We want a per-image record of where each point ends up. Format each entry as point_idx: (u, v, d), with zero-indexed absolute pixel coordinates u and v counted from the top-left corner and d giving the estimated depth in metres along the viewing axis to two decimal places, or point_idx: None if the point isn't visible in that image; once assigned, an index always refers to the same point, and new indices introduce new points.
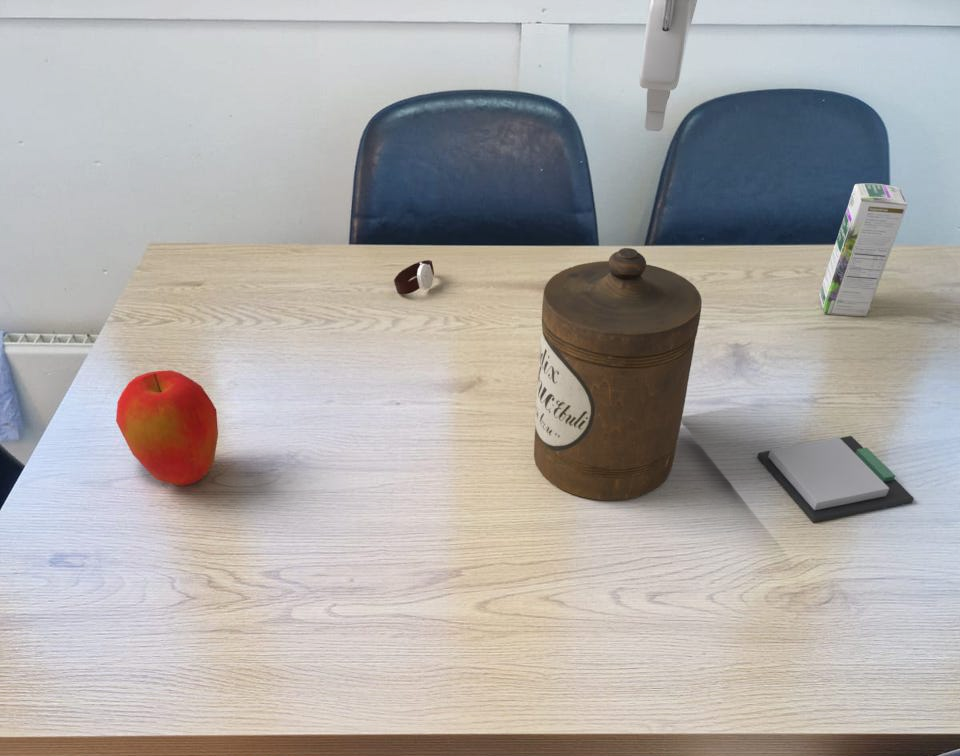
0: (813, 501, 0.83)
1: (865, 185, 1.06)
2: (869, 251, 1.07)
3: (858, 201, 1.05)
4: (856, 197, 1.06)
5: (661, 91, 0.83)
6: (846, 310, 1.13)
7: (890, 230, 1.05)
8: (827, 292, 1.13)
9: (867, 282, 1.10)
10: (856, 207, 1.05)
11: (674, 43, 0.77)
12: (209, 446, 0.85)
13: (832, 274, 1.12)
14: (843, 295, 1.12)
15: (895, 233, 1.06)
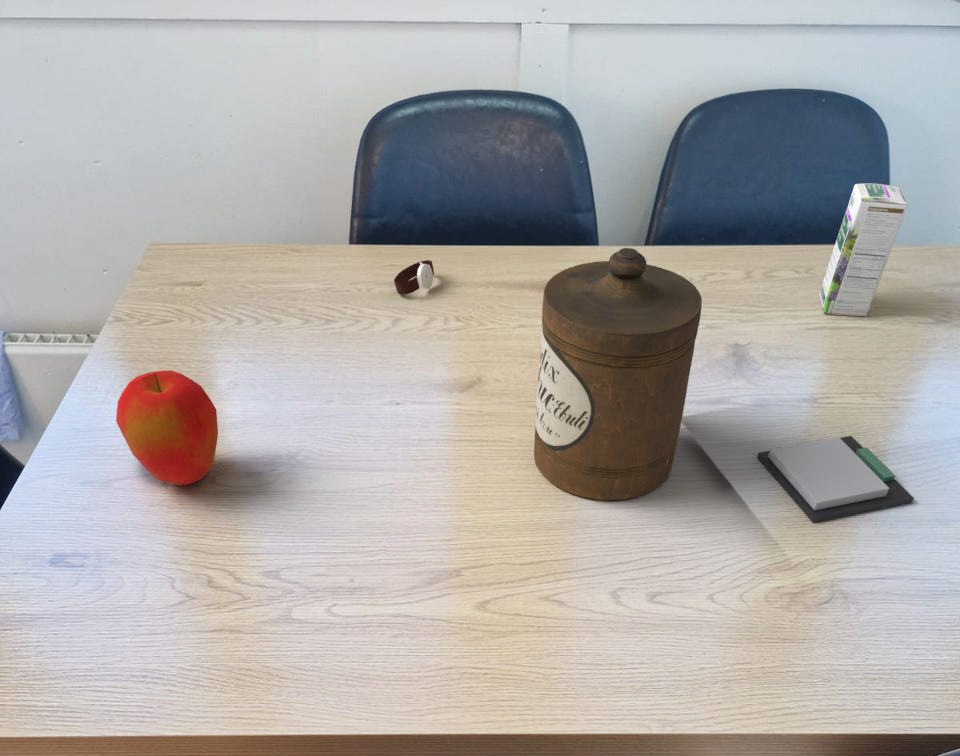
0: (813, 501, 0.83)
1: (865, 185, 1.06)
2: (869, 251, 1.07)
3: (858, 201, 1.05)
4: (856, 197, 1.06)
5: None
6: (846, 310, 1.13)
7: (890, 230, 1.05)
8: (827, 292, 1.13)
9: (867, 282, 1.10)
10: (856, 207, 1.05)
11: None
12: (209, 446, 0.85)
13: (832, 274, 1.12)
14: (843, 295, 1.12)
15: (895, 233, 1.06)
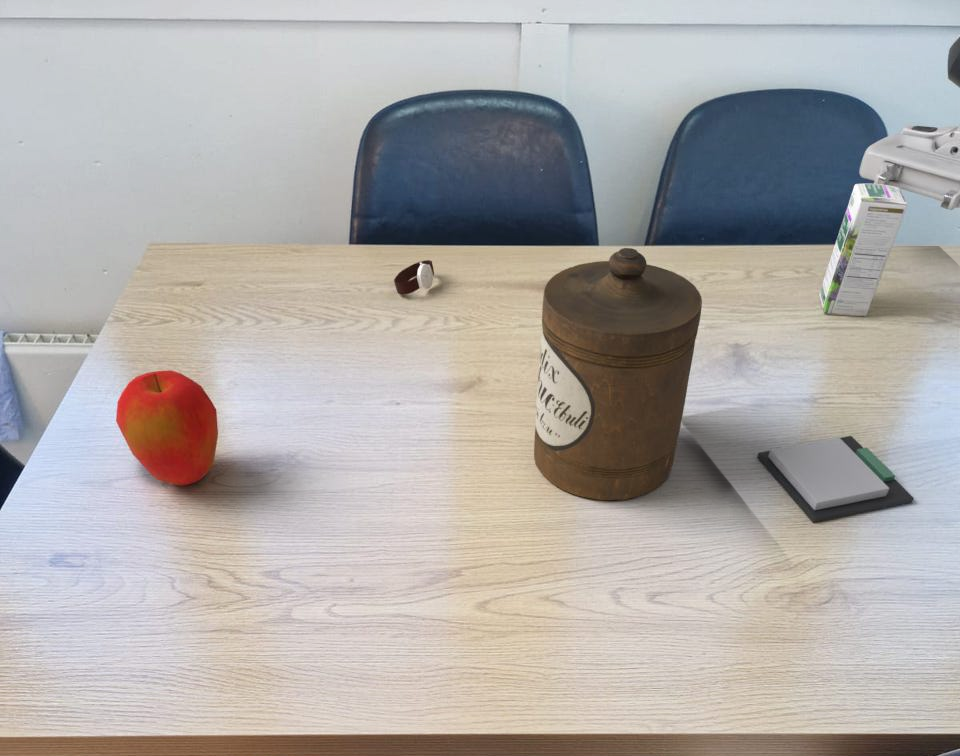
0: (813, 501, 0.83)
1: (865, 185, 1.06)
2: (869, 251, 1.07)
3: (858, 201, 1.05)
4: (856, 197, 1.06)
5: None
6: (846, 310, 1.13)
7: (890, 230, 1.05)
8: (827, 292, 1.13)
9: (867, 282, 1.10)
10: (856, 207, 1.05)
11: None
12: (209, 446, 0.85)
13: (832, 274, 1.12)
14: (843, 295, 1.12)
15: (895, 233, 1.06)
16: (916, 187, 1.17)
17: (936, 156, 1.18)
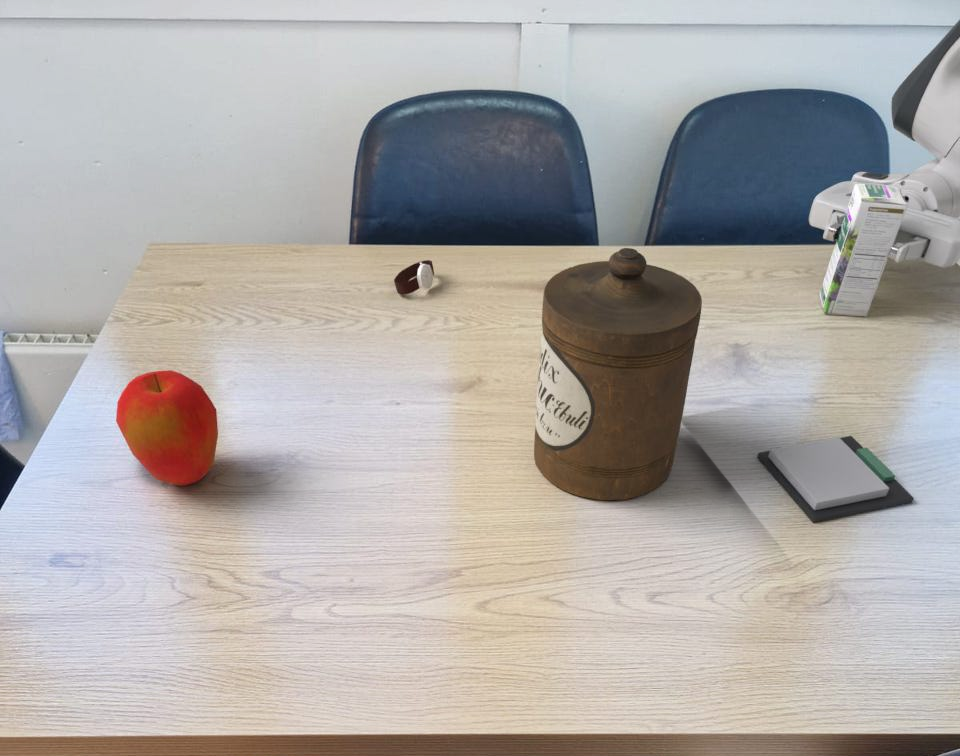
0: (813, 501, 0.83)
1: (865, 185, 1.06)
2: (869, 251, 1.07)
3: (858, 202, 1.05)
4: (856, 197, 1.06)
5: (920, 252, 1.08)
6: (846, 310, 1.13)
7: (890, 230, 1.05)
8: (827, 292, 1.13)
9: (867, 282, 1.10)
10: (856, 207, 1.05)
11: None
12: (209, 446, 0.85)
13: (832, 274, 1.12)
14: (843, 295, 1.12)
15: (895, 233, 1.06)
16: None
17: None
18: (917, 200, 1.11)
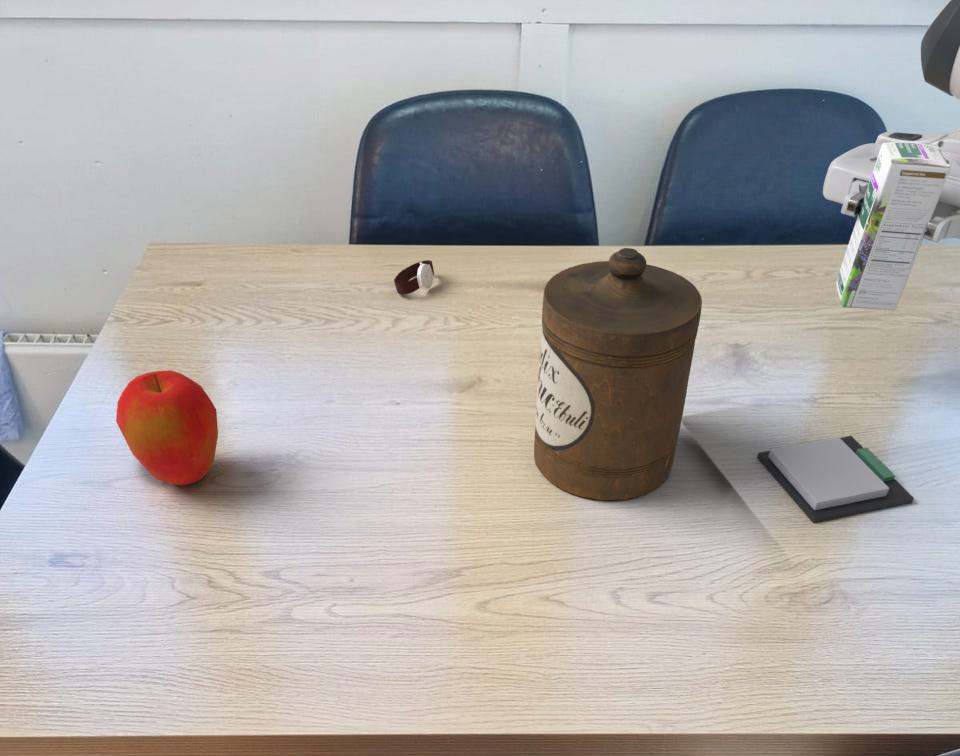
0: (813, 501, 0.83)
1: (896, 144, 0.84)
2: (900, 227, 0.85)
3: (887, 164, 0.82)
4: (884, 159, 0.83)
5: None
6: (870, 303, 0.91)
7: (927, 200, 0.83)
8: (846, 280, 0.91)
9: (897, 267, 0.88)
10: (884, 171, 0.83)
11: None
12: (209, 446, 0.85)
13: (853, 258, 0.89)
14: (866, 284, 0.89)
15: (934, 204, 0.83)
16: None
17: None
18: (959, 165, 0.89)
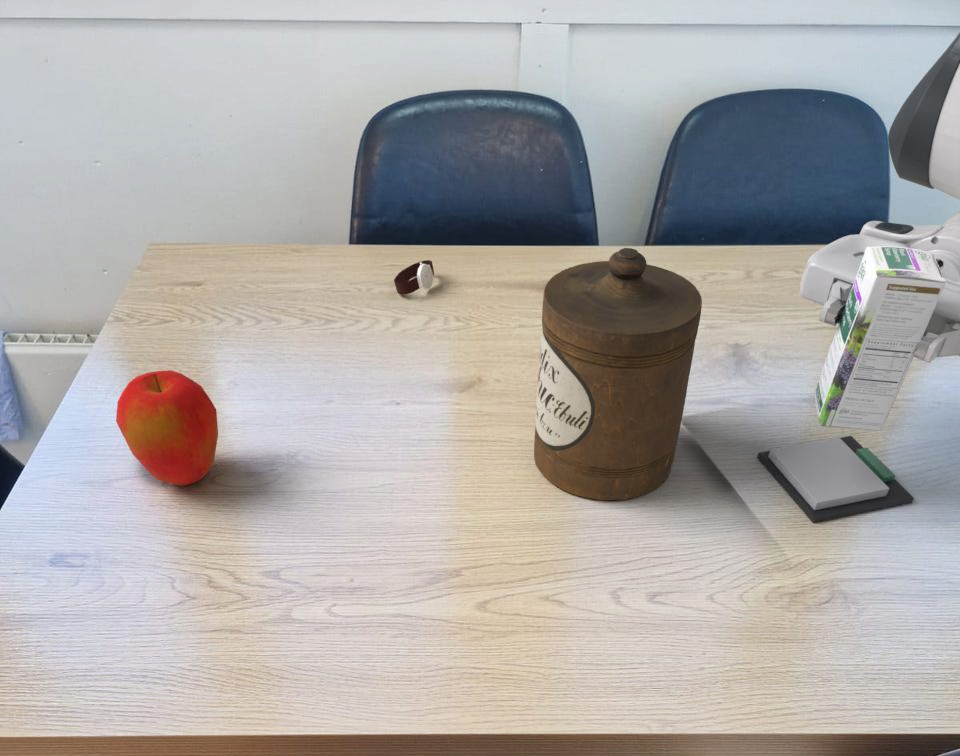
0: (813, 501, 0.83)
1: (882, 249, 0.72)
2: (887, 345, 0.73)
3: (871, 275, 0.70)
4: (869, 268, 0.71)
5: None
6: (852, 423, 0.79)
7: (918, 317, 0.71)
8: (825, 397, 0.79)
9: (883, 386, 0.76)
10: (869, 283, 0.71)
11: None
12: (209, 446, 0.85)
13: (832, 373, 0.77)
14: (848, 403, 0.78)
15: (926, 321, 0.71)
16: None
17: None
18: (955, 267, 0.77)
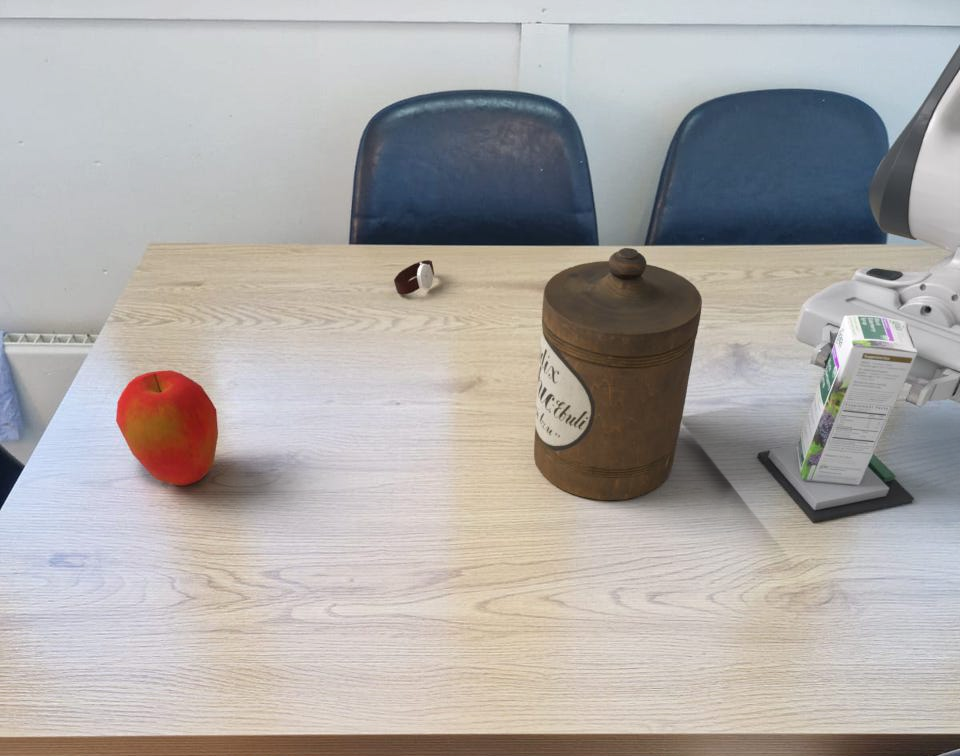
0: (813, 501, 0.83)
1: (859, 318, 0.77)
2: (863, 408, 0.78)
3: (848, 344, 0.75)
4: (846, 336, 0.76)
5: (952, 391, 0.78)
6: (832, 477, 0.83)
7: (892, 383, 0.76)
8: (806, 453, 0.83)
9: (861, 445, 0.80)
10: (846, 352, 0.75)
11: None
12: (209, 446, 0.85)
13: (813, 431, 0.82)
14: (828, 460, 0.82)
15: (900, 387, 0.76)
16: None
17: (901, 316, 0.83)
18: (943, 313, 0.81)
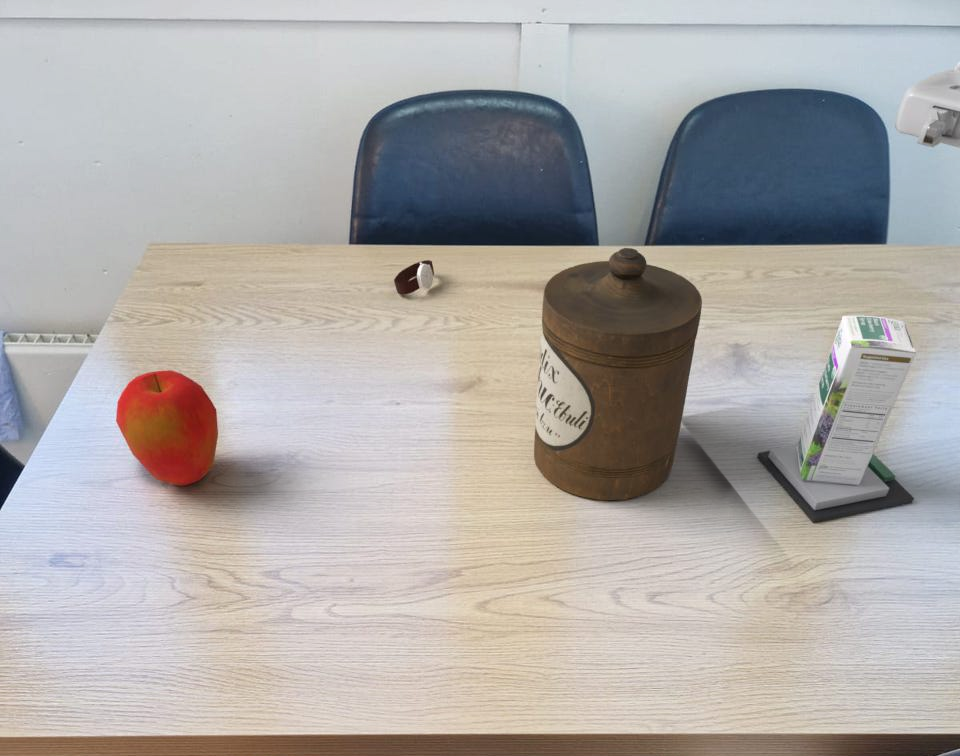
0: (813, 501, 0.83)
1: (857, 319, 0.77)
2: (862, 408, 0.78)
3: (846, 345, 0.75)
4: (844, 337, 0.76)
5: None
6: (832, 477, 0.83)
7: (891, 383, 0.76)
8: (806, 453, 0.83)
9: (860, 445, 0.80)
10: (844, 352, 0.75)
11: None
12: (209, 446, 0.85)
13: (812, 431, 0.82)
14: (827, 460, 0.82)
15: (899, 387, 0.76)
16: None
17: None
18: None
